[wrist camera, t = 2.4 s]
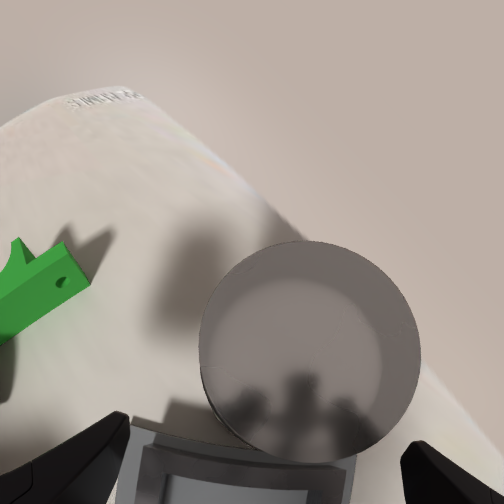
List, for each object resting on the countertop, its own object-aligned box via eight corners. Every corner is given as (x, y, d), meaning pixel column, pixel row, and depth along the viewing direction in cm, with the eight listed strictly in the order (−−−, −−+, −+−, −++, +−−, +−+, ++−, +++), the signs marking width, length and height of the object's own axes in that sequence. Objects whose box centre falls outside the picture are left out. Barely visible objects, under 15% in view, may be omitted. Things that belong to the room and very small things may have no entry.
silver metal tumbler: (216, 442, 15) (219, 489, 4) (202, 360, 18) (184, 249, 7) (302, 426, 16) (443, 416, 5) (285, 348, 19) (381, 231, 8)
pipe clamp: (74, 250, 21) (53, 214, 17) (91, 286, 20) (68, 253, 16) (-24, 317, 16) (-56, 293, 13) (-14, 357, 15) (-50, 337, 11)
